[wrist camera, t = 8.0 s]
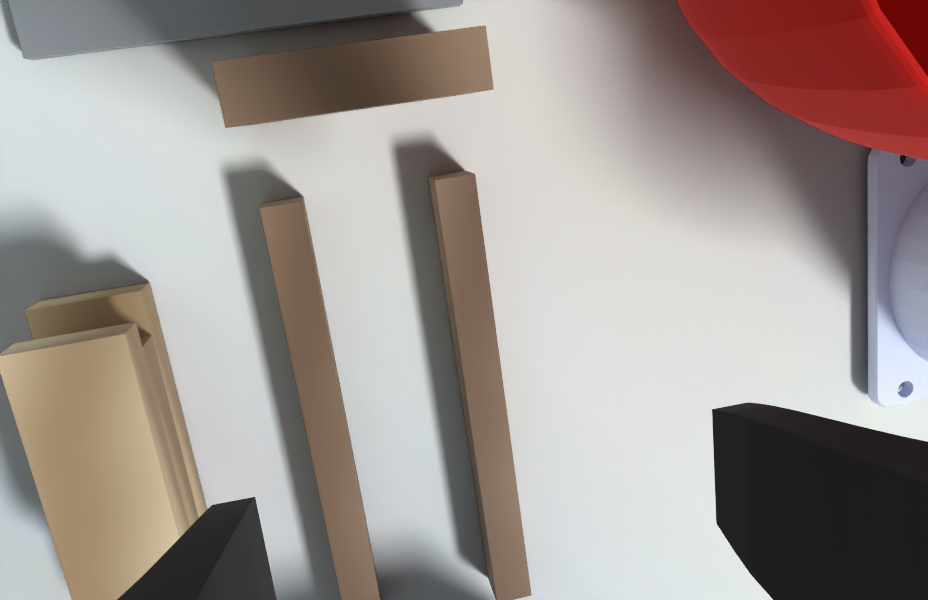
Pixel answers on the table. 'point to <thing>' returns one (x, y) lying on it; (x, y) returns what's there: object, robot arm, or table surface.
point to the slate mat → (177, 20)
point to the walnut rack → (463, 266)
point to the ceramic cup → (829, 63)
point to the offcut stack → (103, 435)
